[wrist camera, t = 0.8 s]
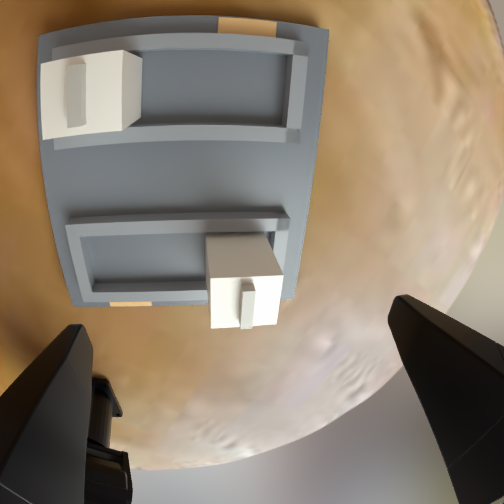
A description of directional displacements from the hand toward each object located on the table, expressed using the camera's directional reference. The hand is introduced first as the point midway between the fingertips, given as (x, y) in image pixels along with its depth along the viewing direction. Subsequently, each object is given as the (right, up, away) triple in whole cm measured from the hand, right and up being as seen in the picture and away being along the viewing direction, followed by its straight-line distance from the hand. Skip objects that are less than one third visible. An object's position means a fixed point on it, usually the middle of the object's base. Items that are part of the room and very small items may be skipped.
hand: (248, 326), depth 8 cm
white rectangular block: (-1, +2, +12) cm, 12 cm away
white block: (-7, +10, +5) cm, 14 cm away
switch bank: (-4, +7, +10) cm, 12 cm away
